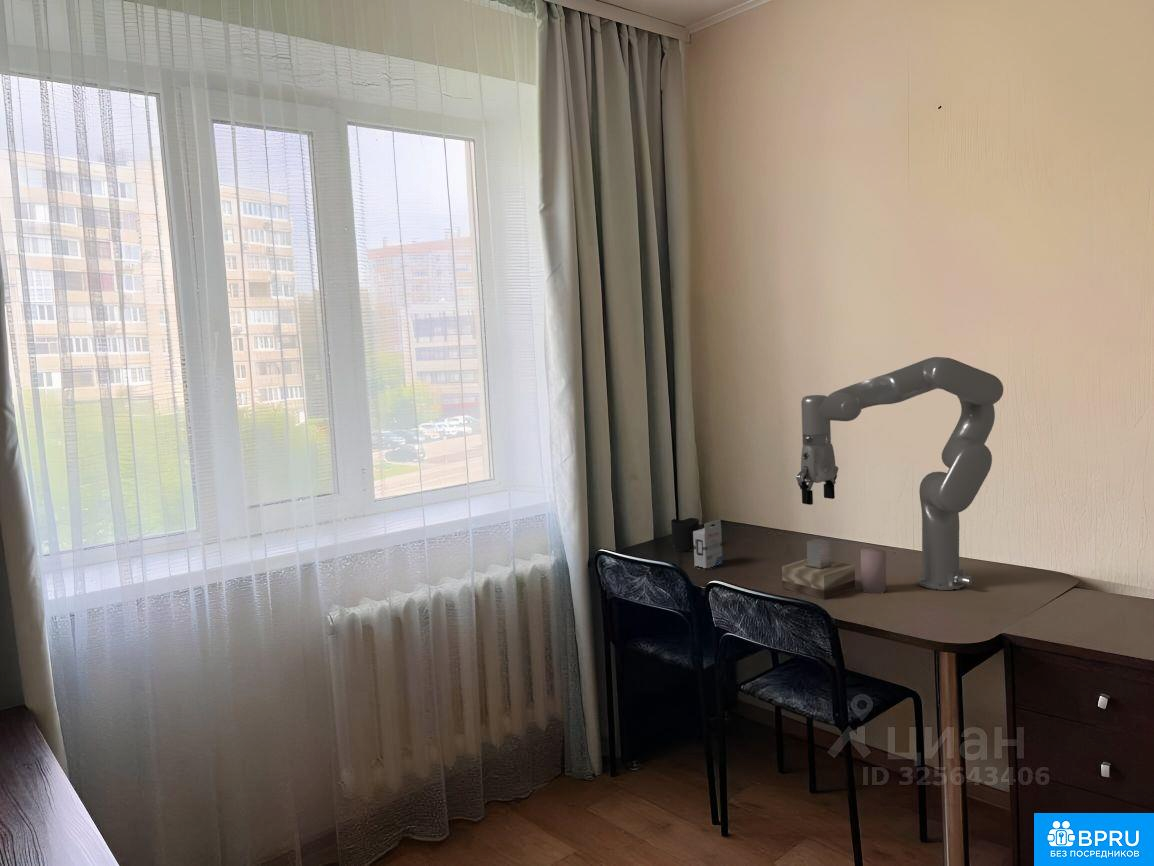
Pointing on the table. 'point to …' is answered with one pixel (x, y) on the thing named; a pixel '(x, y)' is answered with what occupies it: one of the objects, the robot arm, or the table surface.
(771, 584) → the table surface
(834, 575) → the bore block
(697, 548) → the ink box
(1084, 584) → the table surface
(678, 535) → the pen holder
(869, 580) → the round peg
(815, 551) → the square peg
